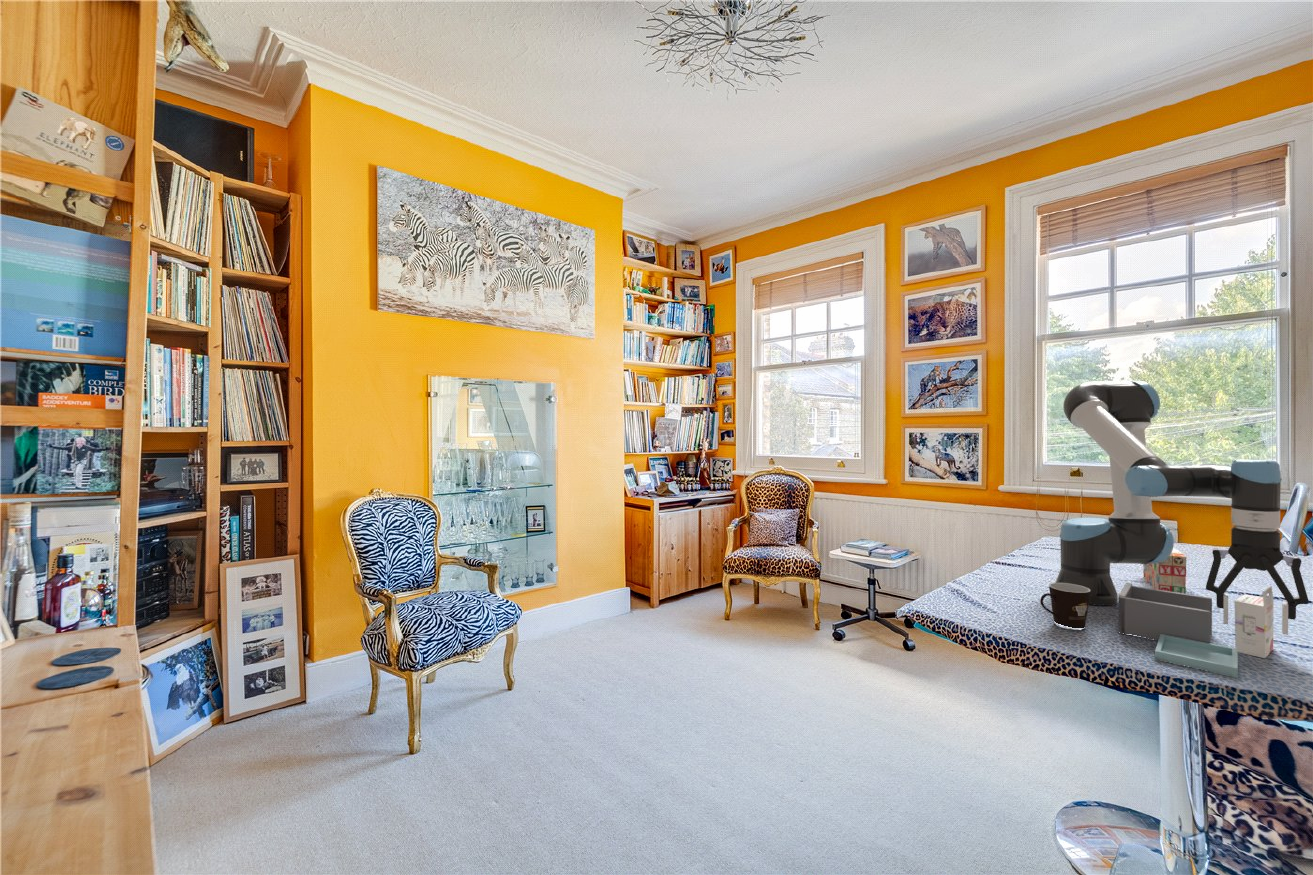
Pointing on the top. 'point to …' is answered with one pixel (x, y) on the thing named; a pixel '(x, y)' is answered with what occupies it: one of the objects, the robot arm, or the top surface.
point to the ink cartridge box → (1254, 624)
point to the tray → (1198, 655)
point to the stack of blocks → (1168, 573)
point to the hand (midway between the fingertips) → (1254, 627)
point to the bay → (1164, 614)
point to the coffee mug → (1068, 604)
